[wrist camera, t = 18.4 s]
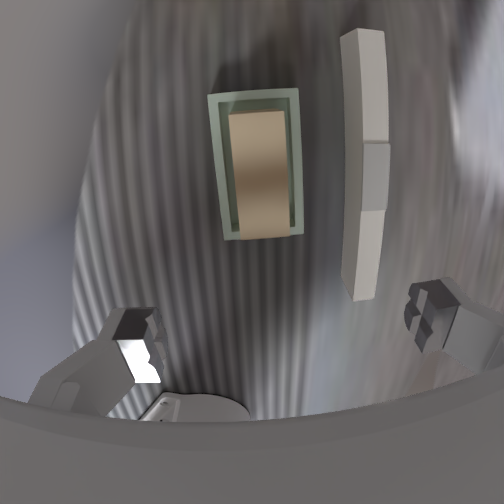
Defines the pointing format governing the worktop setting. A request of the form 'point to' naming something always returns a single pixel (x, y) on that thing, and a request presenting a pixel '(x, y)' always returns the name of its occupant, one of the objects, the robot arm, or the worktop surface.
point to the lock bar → (260, 172)
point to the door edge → (364, 158)
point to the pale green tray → (222, 150)
